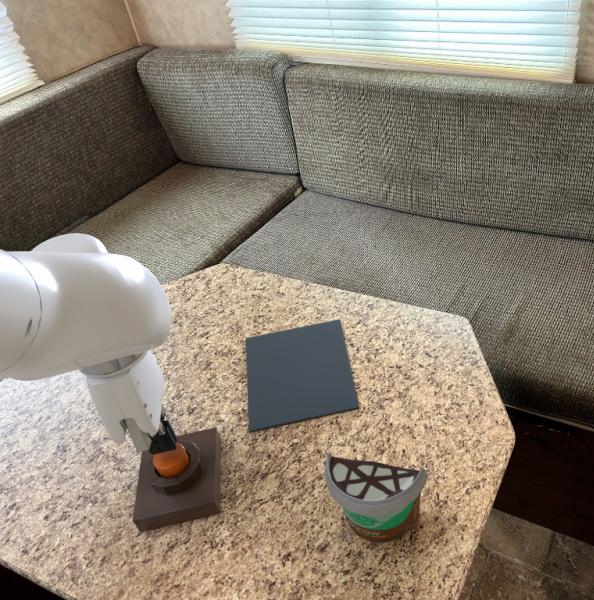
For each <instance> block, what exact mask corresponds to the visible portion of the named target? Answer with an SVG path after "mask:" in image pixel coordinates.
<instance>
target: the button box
mask: <svg viewBox="0 0 594 600" xmlns="http://www.w3.org/2000/svg"><path fill="white" fill-rule="evenodd" d="M176 436H177V442H176V443H179V444H181V445H182V446H183V447H184V449H185V451H186V453H187V455H188V457H189V464H188V467H187V468H186V470H185V471H184V472H182V473H181V474H179V475H178V476H176V477H172V478H165V477H162V476H161V475H160V474H159V473H158V471H157V469H156V467H155V466H154V464H153V456H154V455H153V454H150V452H149V450H147V451H142V452H141V454H140V463H139V470H138V477H137V483H136V484H137V485H136V493H135V499H134V507H133V514H132V522H133V524H134V526H135V527H136V528H137V530H138V531H139V533H142V532H147V531H151V530H155V529H159V528H163V527H169V526H172V525H176V524H180V523H185V522H188V521H193V520H199V519H202V518H206V517H211V516H215V515H219V514H221V501H222V500H221V496H222V495H221V494H222V492H221V490H222V489H221V487H222V485H221V484H222V437H221V435H220V433H219V430H218V428H217V427H211V428H207V429H206V428H205V429H202V430H201V429H200V430H197V431H193V432H187V433H184V434H179V435H176Z"/></svg>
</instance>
